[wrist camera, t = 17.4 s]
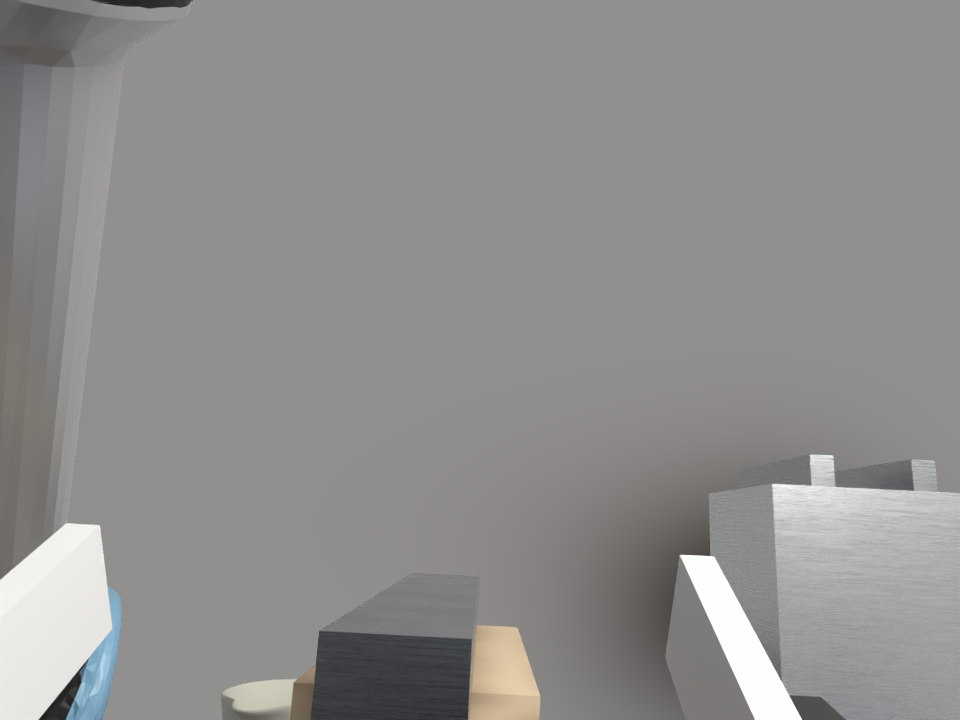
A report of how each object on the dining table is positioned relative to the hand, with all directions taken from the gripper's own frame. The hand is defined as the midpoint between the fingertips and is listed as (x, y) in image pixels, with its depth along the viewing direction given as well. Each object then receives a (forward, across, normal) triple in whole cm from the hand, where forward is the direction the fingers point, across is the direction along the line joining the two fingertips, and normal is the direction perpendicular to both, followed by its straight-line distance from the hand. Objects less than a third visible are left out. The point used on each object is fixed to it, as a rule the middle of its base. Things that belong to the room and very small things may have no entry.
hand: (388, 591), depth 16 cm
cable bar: (+11, 0, -11) cm, 15 cm away
